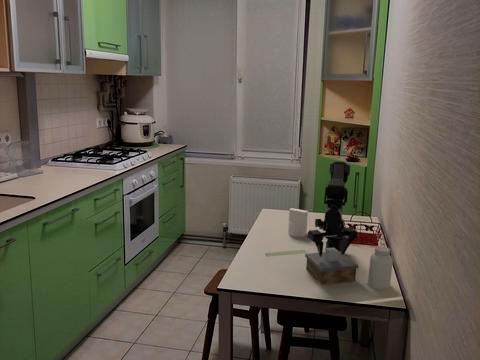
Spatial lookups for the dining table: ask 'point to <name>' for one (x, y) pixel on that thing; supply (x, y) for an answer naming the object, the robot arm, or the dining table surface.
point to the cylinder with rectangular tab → (297, 222)
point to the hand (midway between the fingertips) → (331, 255)
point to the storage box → (331, 274)
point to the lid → (331, 260)
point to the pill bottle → (380, 268)
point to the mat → (286, 253)
